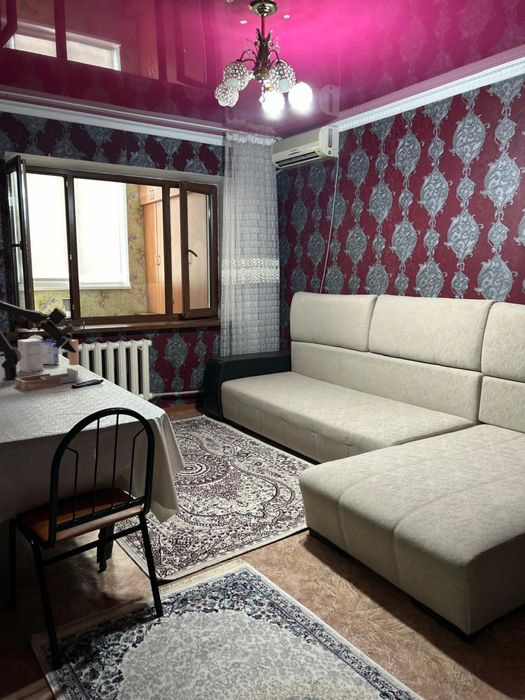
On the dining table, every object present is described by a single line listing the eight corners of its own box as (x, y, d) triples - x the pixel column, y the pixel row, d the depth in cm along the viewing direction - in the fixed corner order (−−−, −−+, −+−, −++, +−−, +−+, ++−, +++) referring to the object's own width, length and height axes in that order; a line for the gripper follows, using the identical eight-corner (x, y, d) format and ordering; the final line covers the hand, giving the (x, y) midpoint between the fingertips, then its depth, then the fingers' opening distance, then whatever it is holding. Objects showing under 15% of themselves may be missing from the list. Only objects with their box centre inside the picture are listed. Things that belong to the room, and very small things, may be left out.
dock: (15, 386, 261) (14, 378, 260) (49, 381, 272) (49, 373, 272) (25, 390, 252) (25, 382, 252) (60, 385, 264) (60, 377, 263)
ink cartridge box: (59, 363, 317) (58, 339, 314) (54, 365, 311) (52, 340, 309) (44, 363, 319) (42, 338, 316) (38, 364, 313) (37, 339, 311)
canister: (67, 364, 282) (66, 340, 280) (76, 362, 286) (75, 339, 283) (71, 365, 279) (70, 341, 277) (80, 364, 282) (79, 340, 280)
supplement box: (36, 367, 305) (34, 338, 302) (44, 370, 299) (42, 339, 296) (19, 370, 298) (17, 339, 295) (26, 372, 292) (24, 341, 289)
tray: (39, 382, 268) (39, 372, 267) (69, 377, 278) (68, 368, 277) (48, 385, 261) (47, 375, 260) (78, 380, 271) (77, 370, 270)
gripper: (60, 321, 269) (85, 343, 273) (66, 317, 287) (89, 337, 291) (44, 337, 268) (69, 359, 272) (51, 332, 286) (74, 352, 290)
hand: (76, 351), depth 281 cm, fingers closed on canister, 5 cm apart
